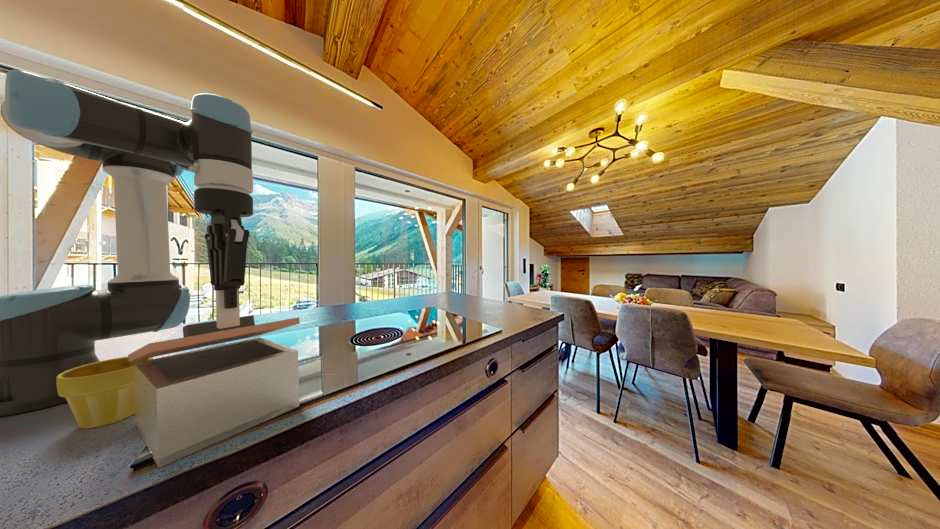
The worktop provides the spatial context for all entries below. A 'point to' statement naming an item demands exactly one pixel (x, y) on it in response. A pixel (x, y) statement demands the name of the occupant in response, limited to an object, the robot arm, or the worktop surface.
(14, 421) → the worktop surface
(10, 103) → the robot arm
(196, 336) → the lid
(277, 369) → the box body
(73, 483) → the worktop surface
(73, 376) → the plant pot
